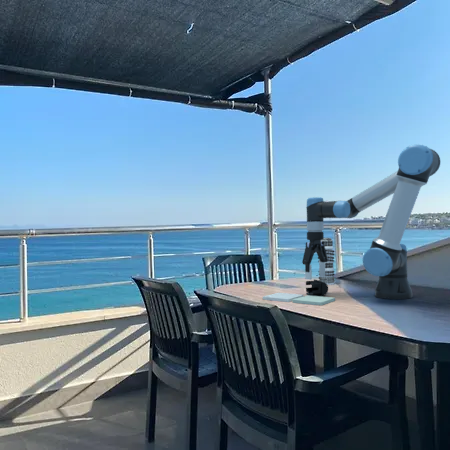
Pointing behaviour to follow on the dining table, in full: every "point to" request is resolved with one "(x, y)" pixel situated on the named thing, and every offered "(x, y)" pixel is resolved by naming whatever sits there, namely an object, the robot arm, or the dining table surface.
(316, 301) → the sage mat
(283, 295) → the pale blue mat
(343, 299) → the dining table surface
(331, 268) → the decorative candle
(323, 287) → the end cap
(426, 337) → the dining table surface
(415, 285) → the dining table surface
